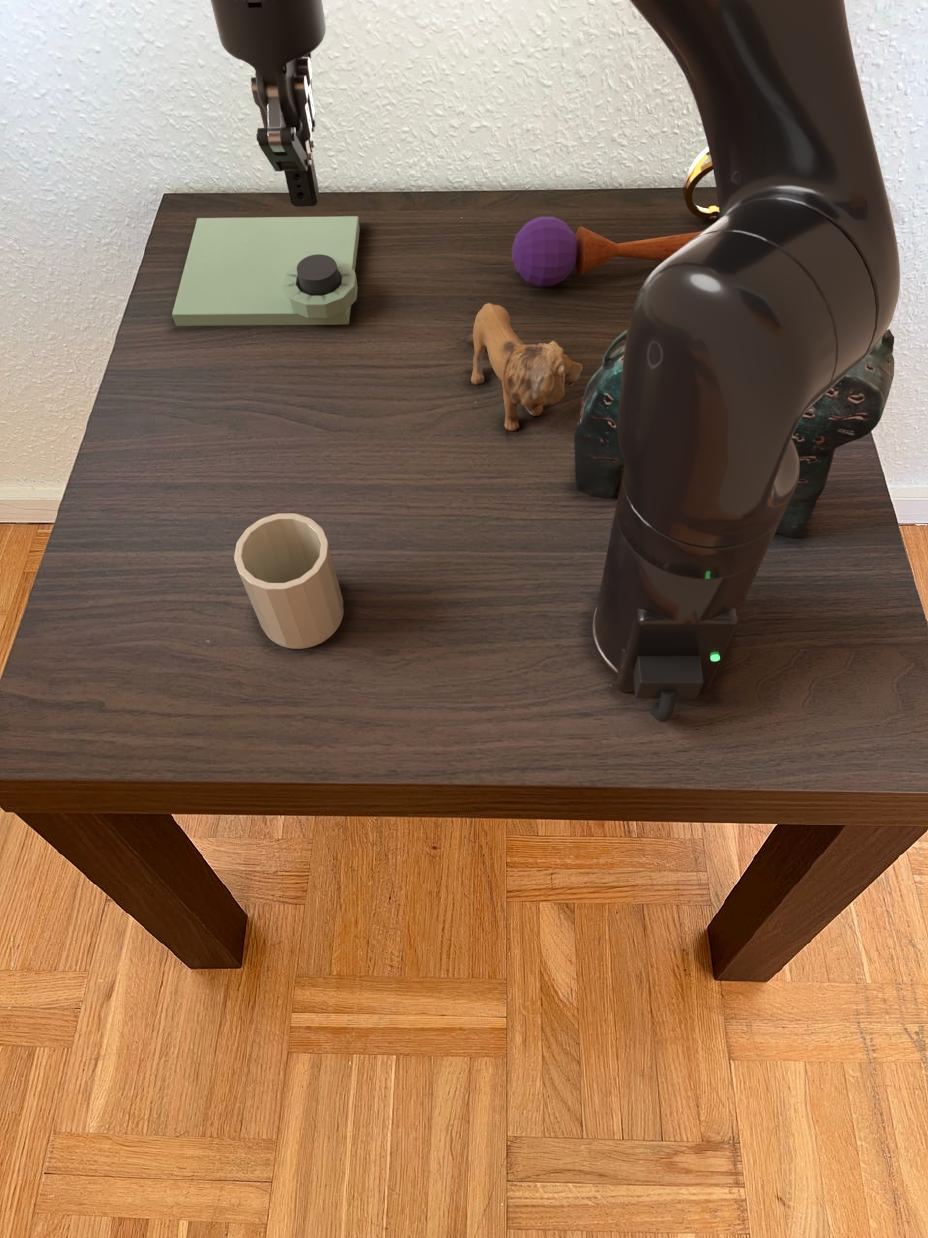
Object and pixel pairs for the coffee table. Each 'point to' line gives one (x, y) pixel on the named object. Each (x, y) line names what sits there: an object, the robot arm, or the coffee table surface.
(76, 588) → the coffee table surface
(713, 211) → the ring
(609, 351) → the ceramic cat
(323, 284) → the button
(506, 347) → the lion figurine
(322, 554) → the cup
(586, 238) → the kendama
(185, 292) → the scale
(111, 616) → the coffee table surface
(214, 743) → the coffee table surface
